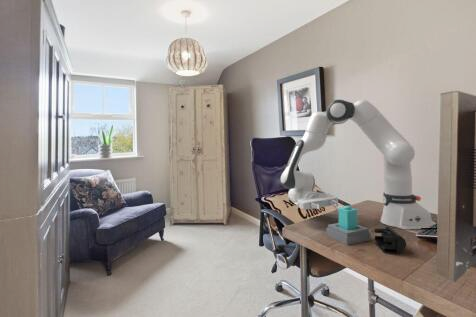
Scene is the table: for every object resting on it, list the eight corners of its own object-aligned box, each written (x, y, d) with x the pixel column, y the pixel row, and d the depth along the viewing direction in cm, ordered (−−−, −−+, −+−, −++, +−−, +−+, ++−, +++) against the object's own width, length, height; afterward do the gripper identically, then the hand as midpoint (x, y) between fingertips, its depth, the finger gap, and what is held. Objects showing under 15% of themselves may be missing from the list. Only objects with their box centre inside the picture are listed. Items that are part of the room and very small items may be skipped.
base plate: (348, 230, 116) (348, 220, 115) (370, 239, 105) (370, 228, 104) (326, 234, 112) (326, 224, 111) (347, 245, 100) (346, 233, 100)
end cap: (406, 254, 91) (406, 235, 90) (384, 254, 92) (384, 235, 91) (393, 243, 101) (394, 226, 100) (374, 242, 102) (374, 226, 101)
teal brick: (348, 227, 111) (347, 204, 110) (357, 231, 106) (357, 207, 106) (338, 229, 109) (338, 205, 109) (347, 233, 105) (347, 208, 104)
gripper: (292, 196, 128) (309, 201, 115) (326, 191, 135) (346, 196, 122) (292, 208, 128) (309, 215, 115) (326, 203, 135) (346, 209, 122)
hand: (328, 205), depth 119 cm, fingers open, 8 cm apart
